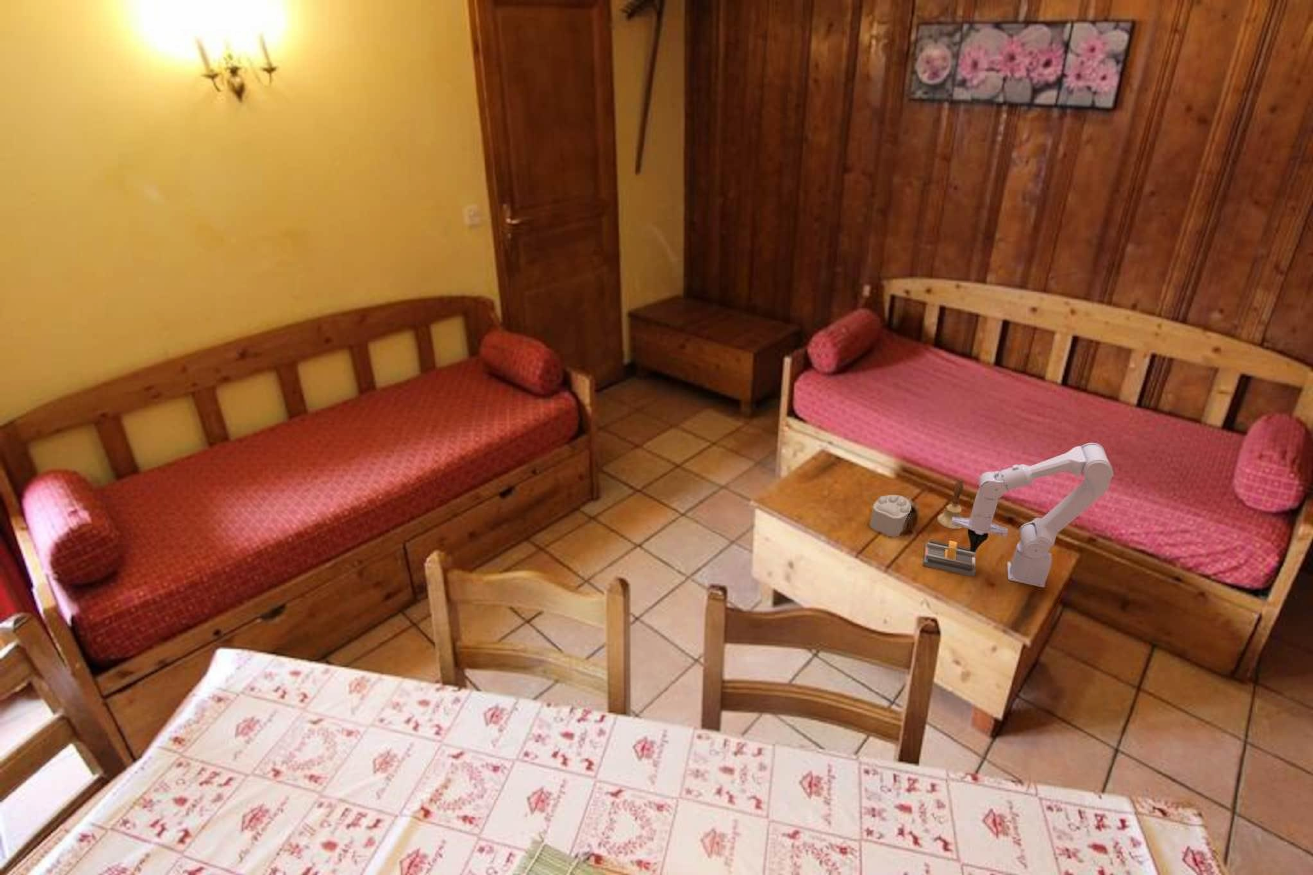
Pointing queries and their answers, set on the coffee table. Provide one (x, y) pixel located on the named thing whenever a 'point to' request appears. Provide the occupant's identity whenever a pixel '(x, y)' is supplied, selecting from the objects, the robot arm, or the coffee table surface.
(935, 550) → the breaker panel
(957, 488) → the hand bell
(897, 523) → the lumpy-topped squat cylinder
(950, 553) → the breaker lever
